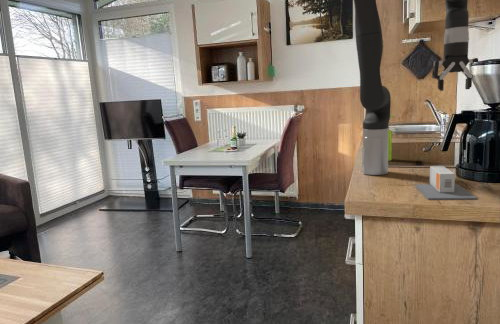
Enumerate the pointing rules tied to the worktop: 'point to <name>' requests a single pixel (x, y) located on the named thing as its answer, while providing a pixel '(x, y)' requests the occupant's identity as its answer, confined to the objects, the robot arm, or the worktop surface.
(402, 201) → the worktop surface
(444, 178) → the skincare box
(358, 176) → the worktop surface
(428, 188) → the rubber mat
